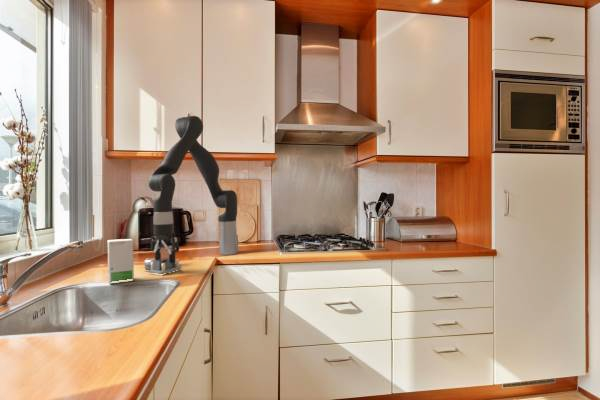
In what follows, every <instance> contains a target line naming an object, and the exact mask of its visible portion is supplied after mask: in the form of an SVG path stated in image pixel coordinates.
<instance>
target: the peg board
mask: <svg viewBox="0 0 600 400" xmlns="http://www.w3.org/2000/svg"><path fill="white" fill-rule="evenodd" d="M175 260H176V267H174V268H170V269H166V270H165V263H162V264H161V266H162V271H154V263H153V262H151V270H149V271H148V273H149V272H150V273H158V274H164V273H169V272H173V271H176V270H180V269H181V270H182V266H180V259H175ZM181 270H180V271H181ZM173 273H174V272H173ZM169 274H170V273H169Z"/></svg>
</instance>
